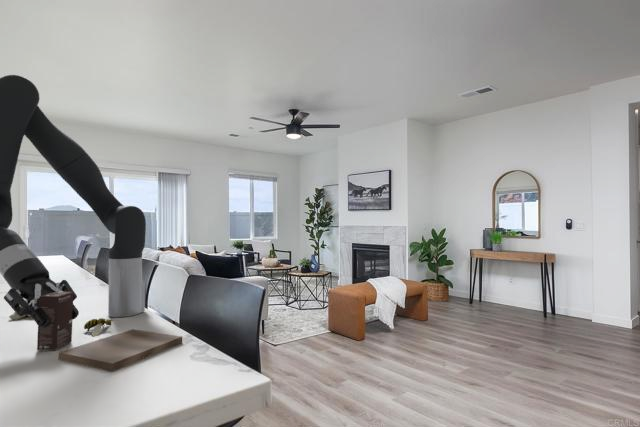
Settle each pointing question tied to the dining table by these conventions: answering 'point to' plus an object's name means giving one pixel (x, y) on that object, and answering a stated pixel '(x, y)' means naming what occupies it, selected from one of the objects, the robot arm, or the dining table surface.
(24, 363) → the dining table surface
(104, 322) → the insect
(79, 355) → the board
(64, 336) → the box
